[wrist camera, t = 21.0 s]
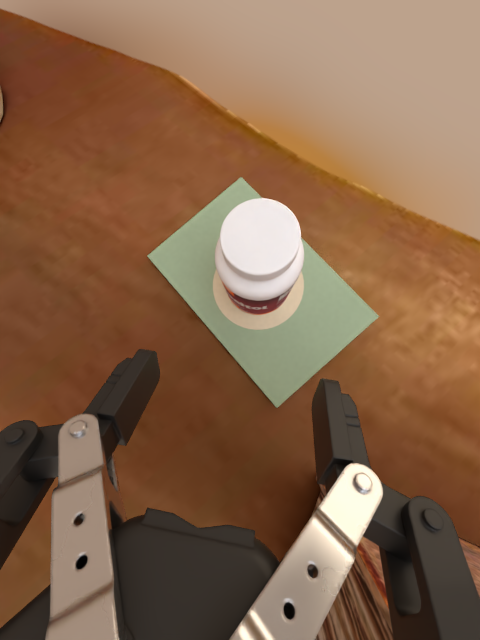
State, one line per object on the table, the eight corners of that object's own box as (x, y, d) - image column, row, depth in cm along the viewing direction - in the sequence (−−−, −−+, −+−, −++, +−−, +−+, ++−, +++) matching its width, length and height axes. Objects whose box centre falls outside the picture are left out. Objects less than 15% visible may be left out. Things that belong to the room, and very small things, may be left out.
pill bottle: (214, 294, 26) (184, 249, 15) (249, 244, 26) (244, 166, 15) (266, 329, 25) (275, 308, 14) (301, 277, 26) (335, 218, 15)
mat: (276, 406, 25) (276, 408, 24) (149, 258, 28) (146, 255, 27) (375, 317, 25) (379, 316, 25) (241, 181, 28) (241, 175, 27)
